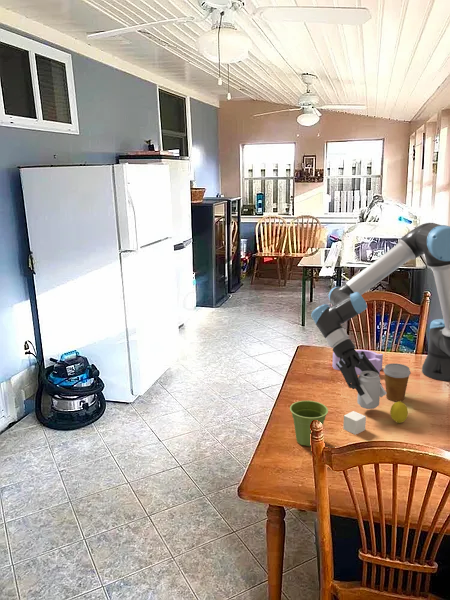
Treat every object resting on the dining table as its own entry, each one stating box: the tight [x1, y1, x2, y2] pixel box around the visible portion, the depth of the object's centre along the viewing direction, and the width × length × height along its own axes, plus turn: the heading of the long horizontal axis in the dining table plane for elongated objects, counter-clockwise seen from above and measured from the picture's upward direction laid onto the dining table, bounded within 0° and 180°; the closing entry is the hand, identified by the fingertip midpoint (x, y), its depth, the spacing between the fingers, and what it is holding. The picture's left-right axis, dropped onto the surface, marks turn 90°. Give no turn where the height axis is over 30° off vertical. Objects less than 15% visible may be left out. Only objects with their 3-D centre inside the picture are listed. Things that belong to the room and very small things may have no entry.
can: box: [356, 371, 381, 410], centre depth 174 cm, size 8×8×12 cm
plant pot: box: [289, 400, 329, 447], centre depth 156 cm, size 12×12×11 cm
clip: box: [332, 349, 384, 376], centre depth 212 cm, size 20×12×7 cm, turn 65°
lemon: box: [389, 401, 409, 424], centre depth 166 cm, size 6×6×8 cm
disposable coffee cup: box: [382, 362, 412, 402], centre depth 184 cm, size 10×10×12 cm
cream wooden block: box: [342, 410, 367, 436], centre depth 163 cm, size 5×5×5 cm
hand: (376, 399), depth 172 cm, fingers closed on can, 7 cm apart
